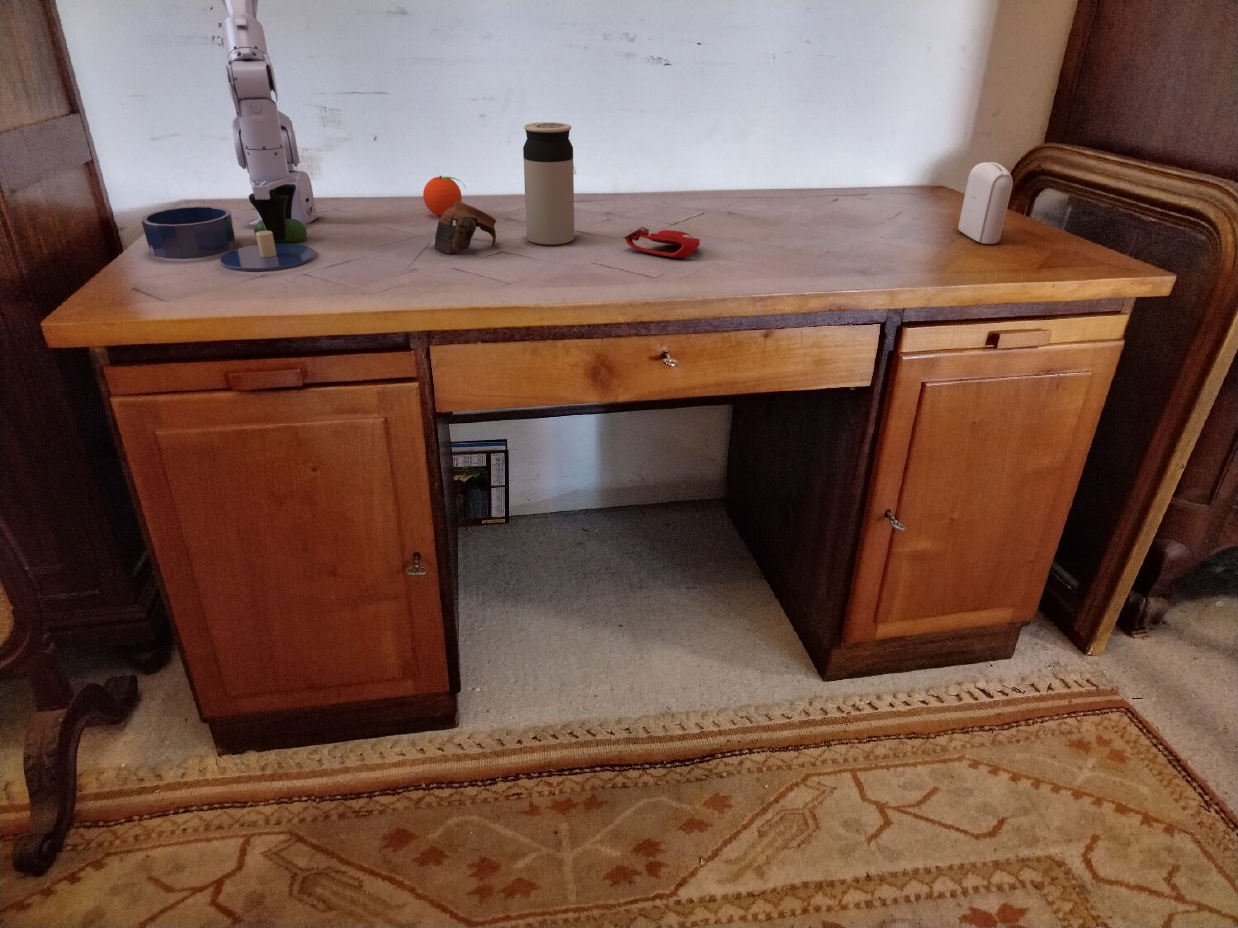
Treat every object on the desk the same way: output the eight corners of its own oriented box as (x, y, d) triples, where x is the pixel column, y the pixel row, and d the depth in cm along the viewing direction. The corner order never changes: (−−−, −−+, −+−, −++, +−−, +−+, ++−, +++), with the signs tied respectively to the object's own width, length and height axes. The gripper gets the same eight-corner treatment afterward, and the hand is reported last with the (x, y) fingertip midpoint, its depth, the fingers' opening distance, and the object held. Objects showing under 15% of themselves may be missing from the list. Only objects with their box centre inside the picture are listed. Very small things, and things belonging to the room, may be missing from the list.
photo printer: (953, 229, 149) (969, 157, 143) (977, 230, 149) (993, 158, 143) (977, 245, 140) (994, 169, 134) (1002, 245, 140) (1020, 169, 134)
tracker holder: (683, 234, 139) (715, 233, 130) (680, 261, 140) (711, 262, 131) (619, 223, 134) (648, 222, 125) (616, 251, 135) (644, 252, 126)
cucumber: (310, 241, 137) (306, 216, 135) (306, 246, 133) (301, 221, 131) (260, 242, 136) (255, 217, 134) (254, 248, 132) (249, 222, 130)
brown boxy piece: (429, 245, 137) (448, 198, 136) (482, 269, 140) (501, 223, 139) (428, 245, 126) (449, 193, 125) (486, 271, 129) (507, 221, 127)
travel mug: (582, 237, 141) (581, 124, 132) (560, 248, 135) (557, 131, 126) (541, 231, 144) (538, 120, 135) (518, 242, 138) (512, 127, 129)
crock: (250, 241, 136) (243, 207, 133) (215, 263, 125) (207, 226, 122) (176, 239, 136) (168, 205, 133) (135, 261, 125) (125, 224, 123)
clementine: (464, 210, 157) (461, 170, 153) (472, 218, 151) (469, 178, 148) (422, 212, 154) (418, 173, 151) (428, 221, 149) (424, 180, 145)
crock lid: (328, 251, 131) (323, 222, 129) (296, 276, 120) (290, 246, 118) (245, 249, 132) (239, 220, 130) (205, 274, 120) (198, 243, 118)
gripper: (282, 155, 121) (298, 247, 128) (300, 139, 134) (314, 224, 141) (231, 155, 120) (250, 248, 127) (254, 139, 133) (271, 225, 140)
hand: (281, 235), depth 134 cm, fingers closed on cucumber, 4 cm apart
